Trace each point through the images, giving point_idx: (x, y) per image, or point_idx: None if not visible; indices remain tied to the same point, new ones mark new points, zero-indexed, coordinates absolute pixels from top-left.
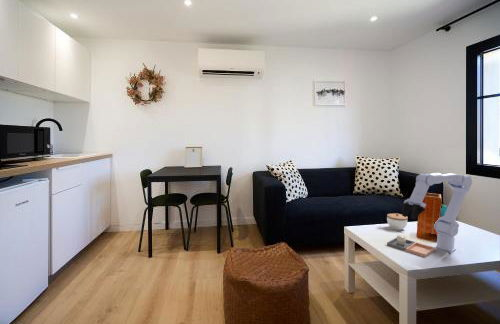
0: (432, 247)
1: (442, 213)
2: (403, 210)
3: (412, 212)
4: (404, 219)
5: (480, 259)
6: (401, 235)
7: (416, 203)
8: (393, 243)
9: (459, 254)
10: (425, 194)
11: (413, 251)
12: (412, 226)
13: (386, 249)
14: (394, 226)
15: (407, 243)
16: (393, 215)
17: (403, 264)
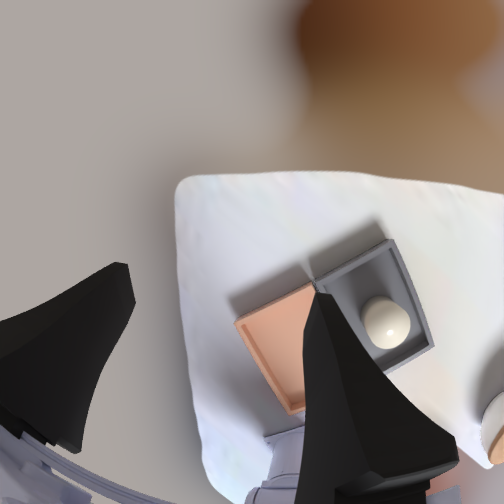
0: (294, 409)
1: None
2: (331, 343)
3: (75, 295)
4: (492, 446)
5: (214, 465)
6: (401, 339)
7: (24, 463)
8: (398, 287)
9: (254, 452)
10: None
11: (278, 300)
12: (476, 460)
13: (359, 214)
14: (502, 398)
15: (380, 354)
16: None
17: (211, 187)
